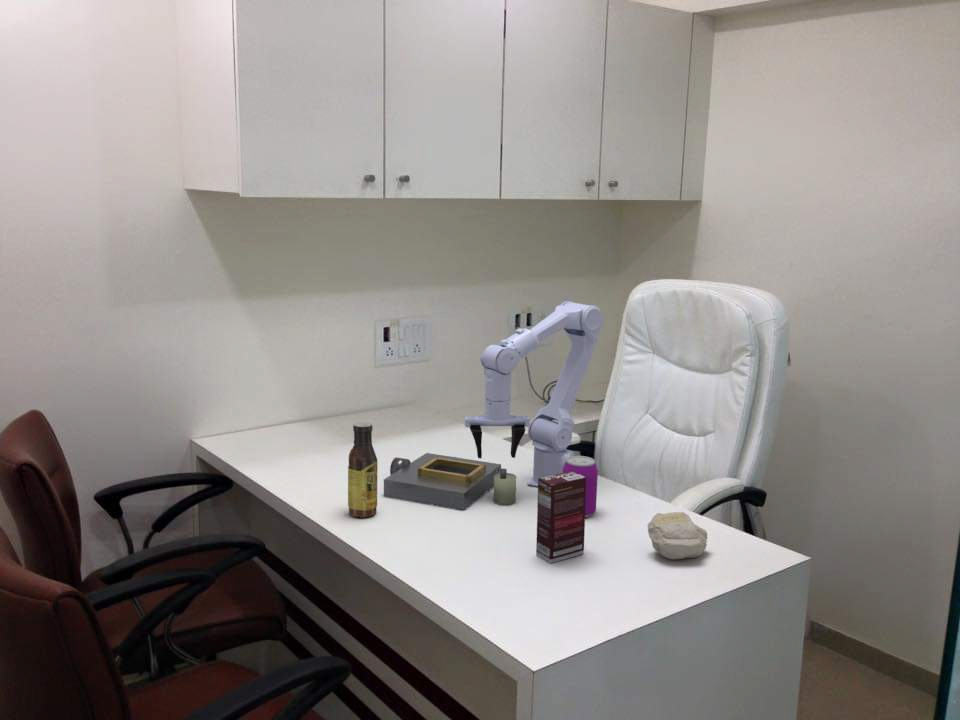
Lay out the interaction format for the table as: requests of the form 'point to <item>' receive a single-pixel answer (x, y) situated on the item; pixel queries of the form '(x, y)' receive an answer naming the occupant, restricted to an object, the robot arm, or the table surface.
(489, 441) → the table surface
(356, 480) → the sauce bottle
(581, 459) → the beverage can
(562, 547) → the supplement box
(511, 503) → the spout can
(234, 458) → the table surface
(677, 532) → the beige lumpy stone
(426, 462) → the grey panel with frame
